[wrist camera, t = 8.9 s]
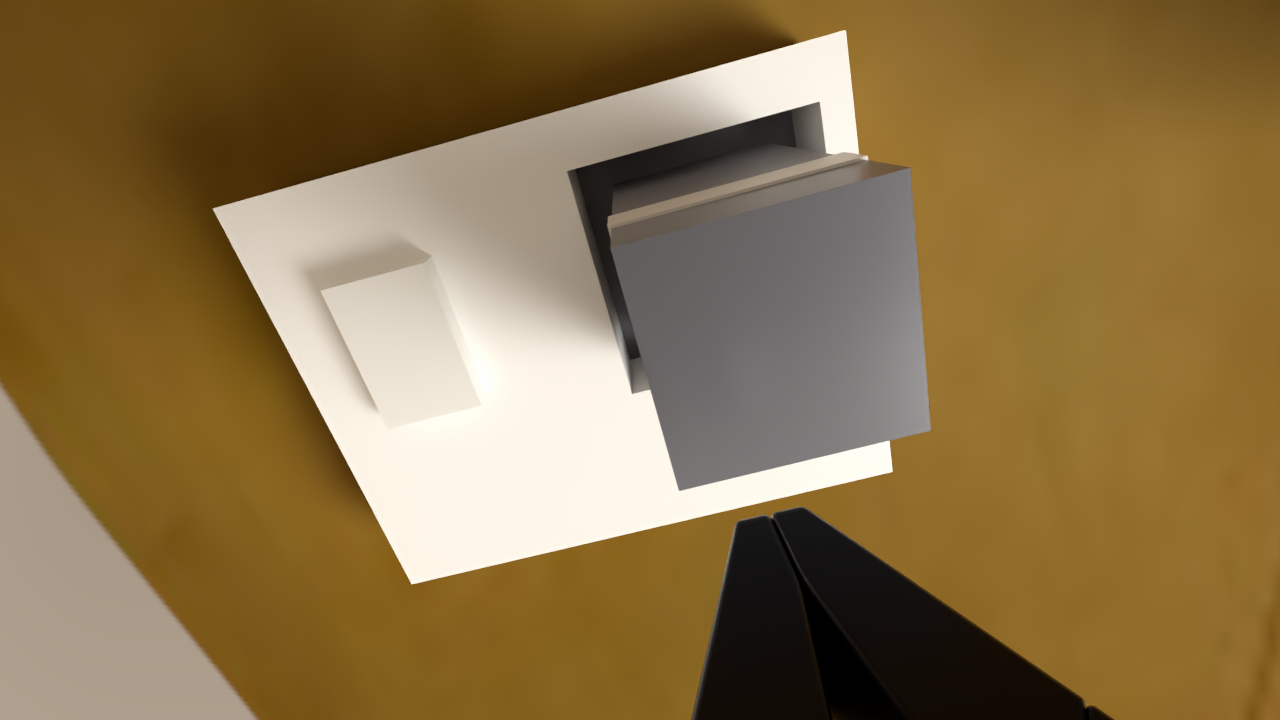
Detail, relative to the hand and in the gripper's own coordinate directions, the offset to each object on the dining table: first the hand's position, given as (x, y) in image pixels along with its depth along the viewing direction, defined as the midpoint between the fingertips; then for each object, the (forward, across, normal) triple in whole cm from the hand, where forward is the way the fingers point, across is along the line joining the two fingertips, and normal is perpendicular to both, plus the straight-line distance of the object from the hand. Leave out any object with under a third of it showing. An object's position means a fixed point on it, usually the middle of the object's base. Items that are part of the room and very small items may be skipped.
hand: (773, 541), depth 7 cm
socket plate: (+10, +2, 0) cm, 11 cm away
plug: (+10, -1, -2) cm, 10 cm away
